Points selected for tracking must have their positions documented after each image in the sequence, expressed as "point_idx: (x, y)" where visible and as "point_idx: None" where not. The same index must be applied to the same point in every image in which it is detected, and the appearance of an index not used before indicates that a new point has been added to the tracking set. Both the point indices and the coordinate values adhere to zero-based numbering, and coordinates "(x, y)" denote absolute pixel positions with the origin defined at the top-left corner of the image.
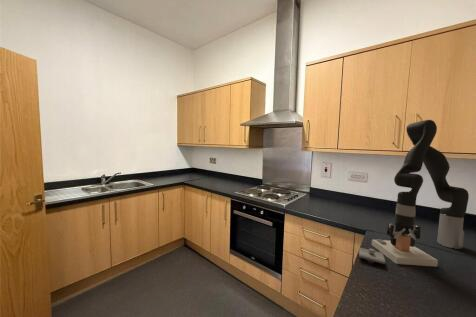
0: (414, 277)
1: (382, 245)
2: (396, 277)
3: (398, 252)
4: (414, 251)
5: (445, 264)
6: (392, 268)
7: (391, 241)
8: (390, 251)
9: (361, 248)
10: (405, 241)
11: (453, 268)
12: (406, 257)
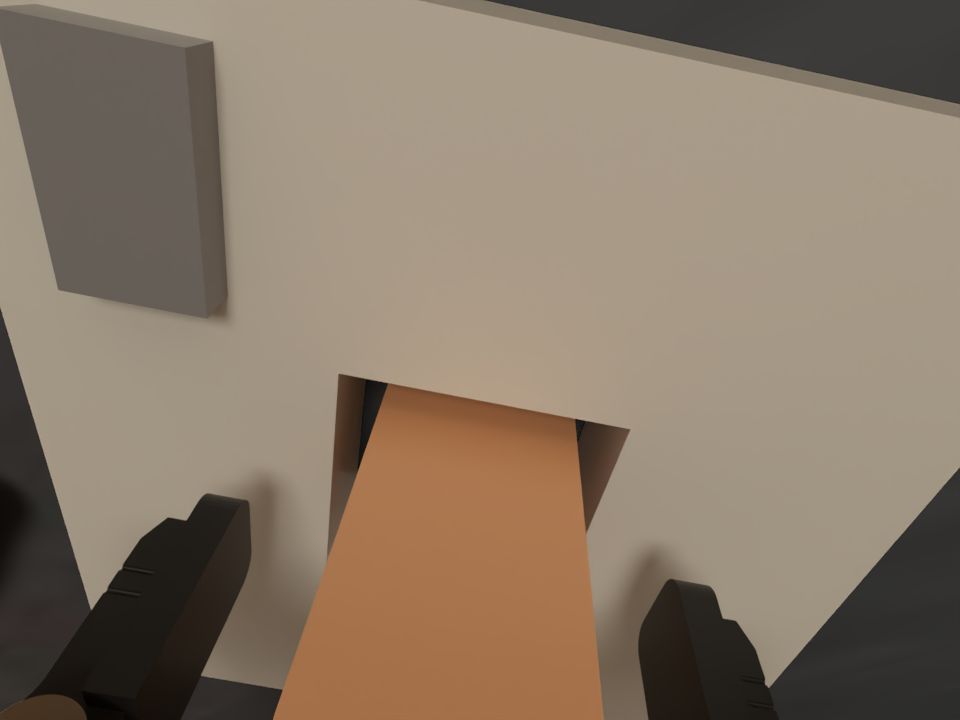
0: (192, 714)
1: (67, 343)
2: (11, 694)
3: (247, 585)
4: (631, 597)
5: (887, 653)
6: (50, 618)
7: (130, 589)
8: (107, 548)
9: None
10: None
11: (855, 703)
12: (266, 677)
